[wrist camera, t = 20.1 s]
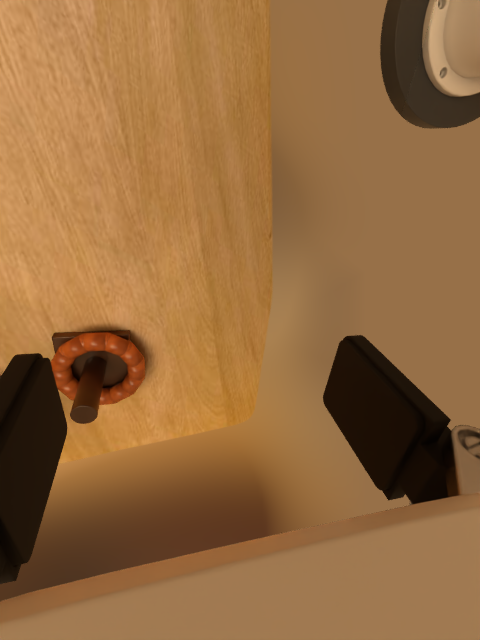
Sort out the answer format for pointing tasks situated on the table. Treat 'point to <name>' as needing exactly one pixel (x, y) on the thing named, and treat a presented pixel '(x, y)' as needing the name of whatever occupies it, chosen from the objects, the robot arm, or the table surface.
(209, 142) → the table surface
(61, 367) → the ring
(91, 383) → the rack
